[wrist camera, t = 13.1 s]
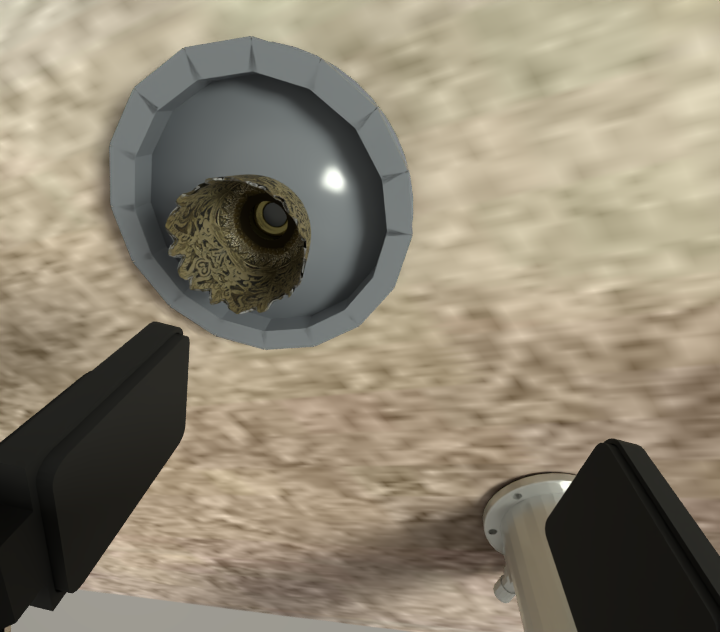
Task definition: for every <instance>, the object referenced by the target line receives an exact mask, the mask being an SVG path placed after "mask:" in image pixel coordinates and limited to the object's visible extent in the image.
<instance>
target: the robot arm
mask: <svg viewBox="0 0 720 632" xmlns="http://www.w3.org/2000/svg"><path fill="white" fill-rule="evenodd" d="M189 344H190V342H189V337H187V336H184V335H183V331H182V329H181V328H179V327H175V326H172V325H168V324H164V323H160V322H152V323H150V324H149V325H147V326H146V327H145V328H144V329H143V330H141V331H140V332H139V333H138V334H136V335H135V336H134V337H133V338H132V339H130V340H129V341H128V342H127V343H125V344H124V345H123V346H122V347H121V348H119V349H118V350H117V351H116V352H114V353H113V354H112V355H111V356H110V357H108V358H107V359H106V360H105V361H103V362H102V363H101V364H100V365H99V366H97V367H96V368H95V369H94V370H92V371H90V372H88V373H86V374H85V375H83V376H82V377H81V378H79V379H78V380H77V381H76V382H74V383H73V384H72V385H71V386H70V387H68V388H67V389H66V390H65V391H63V392H62V393H61V394H60V395H58V396H57V397H56V398H55V399H53V400H52V401H51V402H50V403H49V404H47V405H46V406H45V407H44V408H42V409H41V410H40V411H39V412H37V413H36V414H35V415H34V416H32V417H31V418H30V419H29V420H27V421H26V422H25V423H24V424H23V425H21V426H20V427H19V428H18V429H16V430H15V431H14V432H13V433H11V434H10V435H9V436H8V437H6V438H5V439H4V440H3V441H2V442H0V632H11V625H12V624H14V623H16V622H17V621H18V619H19V618H20V617H21V615H22V614H23V613H24V611H25V610H26V609H27V608H28V606H29V605H30V606H34V607H38V608H42V609H46V610H50V611H53V610H54V609H55V608H56V606H57V605H58V603H59V602H60V601H61V599H62V598H63V596H64V595H65V594H66V592H68V593H74V592H75V591H77V590H78V589H79V588H80V587H81V585H82V584H83V583H84V581H85V580H86V578H87V577H88V575H89V574H90V572H91V571H92V570H93V568H94V567H95V565H96V564H97V562H98V561H99V559H100V558H101V557H102V555H103V554H104V552H105V551H106V549H107V548H108V546H109V545H110V543H111V542H112V541H113V539H114V538H115V536H116V535H117V533H118V532H119V530H120V529H121V527H122V526H123V525H124V523H125V522H126V520H127V519H128V517H129V516H130V514H131V513H132V511H133V510H134V509H135V507H136V506H137V504H138V503H139V501H140V500H141V498H142V497H143V496H144V494H145V493H146V491H147V490H148V488H149V487H150V485H151V484H152V482H153V481H154V480H155V478H156V477H157V475H158V474H159V472H160V471H161V469H162V468H163V466H164V465H165V464H166V462H167V461H168V459H169V458H170V456H171V455H172V453H173V452H174V450H175V449H176V448H177V446H178V445H179V443H180V441H181V439H182V437H183V434H184V431H185V421H186V402H187V383H188V363H189ZM482 519H483V527H484V531H485V535H486V538H487V540H488V541H489V543H490V544H491V546H492V547H493V548H494V549H495V550H496V551H498V552H499V553H501V554H502V555H504V558H505V563H506V565H505V567H504V575H502V576H501V577H500V578H499V580H498V581H497V582H496V584H495V585H494V588H493V590H494V594H495V596H496V597H497V598H498V599H499V600H500V601H501V602H503V603H509V602H510V601H511V599H512V598H513V597H514V596H515V595H516V598H517V603H518V607H519V611H520V616H521V620H522V624H523V628H524V632H720V556H719V555H718V553H717V552H716V550H715V549H714V548H713V546H712V545H711V543H710V542H709V541H708V539H707V538H706V536H705V535H704V533H703V532H702V531H701V529H700V528H699V526H698V525H697V524H696V522H695V521H694V519H693V518H692V517H691V515H690V514H689V512H688V511H687V509H686V508H685V507H684V505H683V504H682V502H681V501H680V500H679V498H678V497H677V495H676V494H675V493H674V491H673V490H672V488H671V487H670V486H669V484H668V483H667V481H666V480H665V478H664V477H663V476H662V474H661V473H660V471H659V470H658V469H657V467H656V466H655V464H654V463H653V462H652V460H651V459H650V457H649V456H648V454H647V453H646V452H645V450H644V449H643V448H642V447H641V446H639V445H637V444H633V443H629V442H625V441H621V440H617V439H608V440H606V441H605V442H604V443H599V444H598V445H597V446H596V447H595V448H594V450H593V451H592V453H591V454H590V456H589V457H588V459H587V460H586V462H585V463H584V465H583V466H582V468H581V469H580V471H579V472H578V474H577V475H570V474H562V473H548V474H539V475H534V476H530V477H525V478H523V479H520V480H517V481H515V482H512V483H511V484H509V485H507V486H505V487H504V488H502V489H501V490H500V491H498V492H497V493H496V494H495V495H494V496H493V497H492V498H491V499H490V501H489V502H488V503H487V505H486V507H485V509H484V513H483V518H482Z"/></svg>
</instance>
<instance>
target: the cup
mask: <svg viewBox="0 0 720 632" xmlns="http://www.w3.org/2000/svg"><path fill="white" fill-rule="evenodd" d="M175 203H176V204H177V207H176V208H175V209H174V210H173V211H172V212H171V213H170V215H169V217H168V219H167V222H166V224H165V228H166V231H167V232H168V234H169V235H170V236H171V237H172V239H173V241H174V242H173V244H171V245H170V247H169V250H168V255H169V256H172V257H176V258H177V257H179V258H182V259H181V260H180V262H179V265H178V268H177V269H178V274H179V276H180V277H181V278H183V279H184V280H189V281H188V282H189V288H190V290H194V291H202V292H207V291H209V300H210V304H211V305H215V304H218V303H220V302H223V303H225V304H226V305H227V308H228V309H230V310H231V311H233V312H234V313H236V314H244V313H247V312H252V311H255V310H256V311H257V312H258V313H262V312H265V311H267V310H268V309H269V308H270V305H271V304H272V303H273V302H274V301H276V300H281V299H282V298H283V297H284V296H285V295H287V296H288V298H289V297H290V296H291V295H292V294H293V292H294V290H295V288H296V287H298V286H299V285H300V283H301V281H302V278H303V274H304V269H305V265H306V262H307V258H308V253H309V249H310V243H311V226H310V220H309V217H308V214H307V211H306V209H305V207H304V205H303V203H302V202H301V200H300V199H299V197H298V196H297V195H296V194H295V193H294V192H293V191H292V190H291V189H290V188H289V187H287V186H286V185H284V184H283V183H281V182H279V181H277V180H275V179H272V178H270V177H266V176H261V175H252V174H245V175H234V176H226V177H215V178H208V179H205V182H204V183H202V184H199V185H198V186H197V187H196V188H194V189H193V190H192V191H190V192H187V193H183V194H181V195H180V196H179V197H178V199H177V200H176V202H175ZM270 203H275V204H277V205H279V206H280V207H281V208H282V209H283V210H284V212H285V214H286V216H287V219H286V221H285V223H284V224H283V225H281V226H272V225H270V224H269V223H267V221H266V220H265V218H264V209H265V207H266V206H267V205H268V204H270ZM181 256H182V257H181Z"/></svg>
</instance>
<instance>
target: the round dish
mask: <svg viewBox="0 0 720 632" xmlns="http://www.w3.org/2000/svg"><path fill="white" fill-rule="evenodd" d="M134 88H135V89H133V90H132V93H131V95H130V97H129V100H128V102H127V105H126V107H125V109H124V112H123V114H122V116H121V119H120V121H119V123H118V126H117V128H116V130H115V133H114V135H113V137H112V140H111V142H110V145H111V146H109V153H110V203H111V206H112V207H111V209H112V211H113V214H114V216H115V219H116V221H117V224H118V226H119V229H120V231H121V234H122V236H123V239H124V241H125V244H126V247H127V249H128V252H129V254H130V257H131V259H132V261H134V262H133V263H134V264H135V265H136V267H137V268H138V269H139V270H140V271H141V273H142V274H143V275H144V276H145V277H146V279H147V280H148V281H149V282H150V283H151V285H152V286H153V287H154V288H155V289H156V291H157V292H158V293H159V294H160V296H161V297H162V298H163V299H164V300H165V302H166V303H167V304H168V305H170V307H171V308H173V309H175V310H176V311H178V312H179V313H181V314H182V315H184V316H185V317H187V318H188V319H190V320H191V321H193V322H194V323H196V324H197V325H199V326H201V327H202V328H204V329H205V330H207V331H208V332H210V333H211V334H213V335H215V334H216V336H217V337H221V338H224V339H228V340H232V341H235V342H239V343H242V344H246V345H250V346H253V347H257V348H261V349H265V350H268V349H284V348H300V347H314V346H317V345H319V344H321V343H323V342H326V341H328V340H330V339H332V338H334V337H337V336H339V335H341V334H343V333H345V332H348V331H350V330H352V329H354V328H356V327H358V326H359V325H361V324H362V323H363V322H364V321H365V319H366V318H367V317H368V316H369V315H370V314H371V313H372V312H373V311H374V310H375V309H376V307H377V306H378V305H379V304H380V303H381V302H382V301H383V300H384V299H385V298H386V297H387V295H388V294H389V293H390V292H391V291H392V290H393V289H394V287H395V284H396V282H397V279H398V276H399V273H400V270H401V267H402V264H403V261H404V258H405V256H406V253H407V250H408V247H409V244H410V241H411V238H412V234H413V232H412V220H413V194H412V186H411V178H410V173H409V169H408V166H407V162H406V158H405V155H404V152H403V150H402V147H401V145H400V142H399V140H398V137H397V135H396V133H395V132H394V130H393V128H392V126H391V124H390V123H389V121H388V119H387V117H386V116H385V114H384V113H383V112H382V110H381V109H380V108H379V106H378V105H377V104H376V102H375V101H374V100H373V98H372V97H371V96H370V95H369V94H368V93H367V92H366V91H365V90H364V89H363V88H362V87H361V86H360V85H359V84H358V83H357V82H356V81H354V80H353V79H352V78H351V77H349V76H348V75H347V74H345V73H344V72H343V71H342V70H340V69H339V68H337V67H336V66H334V65H332V64H331V63H329V62H327V61H325V60H324V59H322V58H320V57H318V56H316V55H314V54H311V53H309V52H306V51H304V50H301V49H299V48H296V47H293V46H288V45H284V44H280V43H276V42H268V41H265V40H262V39H259V38H256V37H253V36H252V37H251V36H248V37H243V38H237V39H231V40H225V41H219V42H213V43H207V44H201V45H195V46H189V47H184V48H182V49H181V50H180V51H179V52H177V53H176V54H175V55H174V56H172V57H171V58H170V59H169V60H167V61H166V62H165V63H164V64H162V65H161V66H160V67H159V68H157V69H156V70H155V71H154V72H153V73H151V74H150V75H149V76H148V77H146V78H145V79H144V80H143V81H141V82H140V83H139V84H138V85H136V86H135V87H134ZM245 174H252V175H261V176H266V177H270V178H272V179H275V180H277V181H279V182H281V183H283V184H284V185H286V186H287V187H289V188H290V189H291V190H292V191H293V192H294V193H295V194H296V195H297V196H298V197H299V199H300V200H301V202H302V203H303V205H304V207H305V209H306V211H307V214H308V217H309V220H310V226H311V243H310V249H309V253H308V258H307V262H306V265H305V269H304V274H303V278H302V281H301V283H300V285H299V286H298V287H296V288H295V290H294V292H293V294H292V295H291V296H290V297H289V298H288V296H287V295H285V296H284V297H283V298H282V299H281V300H276V301H274V302H273V303H272V304H271V305H270V308H269V309H268V310H267V311H265V312H262V313H258V312H257V311H256V310H255V311H252V312H247V313H244V314H236V313H234V312H233V311H231V310H230V309H228V308H227V305H226V304H225V303H223V302H220V303H218V304H215V305H211V304H210V300H209V291H207V292H202V291H194V290H190V288H189V282H188V281H189V280H184V279H183V278H181V277H180V276H179V274H178V269H177V268H178V265H179V262H180V260H181V259H182V258H179V257H177V258H176V257H172V256H169V255H168V250H169V247H170V245H171V244H173V242H174V241H173V239H172V237H171V236H170V235H169V234H168V232H167V231H166V228H165V224H166V222H167V219H168V217H169V215H170V213H171V212H172V211H173V210H174V209H175V208H176V207H177V204H176V203H175V202H176V200H177V199H178V197H179V196H180V195H181V194H183V193H187V192H190V191H192V190H193V189H194V188H196V187H197V186H198V185H199V184H202V183H204V182H205V179H208V178H215V177H226V176H234V175H245ZM264 218H265V220H266V221H267V223H269V224H270V225H272V226H281V225H283V224H284V223H285V221H286V219H287V216H286V214H285V212H284V210H283V209H282V208H281V207H280V206H279V205H277V204H275V203H270V204H268V205H267V206H266V207H265V209H264ZM181 257H182V256H181Z"/></svg>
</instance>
